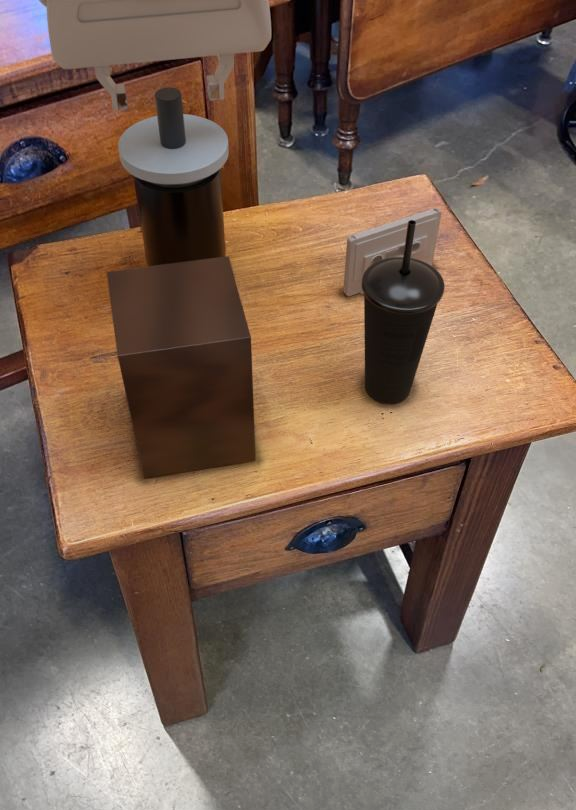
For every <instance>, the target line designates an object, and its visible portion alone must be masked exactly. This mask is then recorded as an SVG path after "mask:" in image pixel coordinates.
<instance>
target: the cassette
mask: <svg viewBox="0 0 576 810" xmlns="http://www.w3.org/2000/svg"><path fill="white" fill-rule="evenodd" d="M441 218H442V211H440V210H439V209H438V208H437V207H434V208H431V209H428V210H425V211H422V212H419V213H416V214H413V215H409V216H407V217H403V218H401V219H397V220H395V221H391V222H388V223H385V224H382V225H379V226H376V227H373V228H370V229H367V230H363V231H360V232H357V233H354V234H351V235H349V236H348V237H347V239H346V247H345V248H346V250H345V260H344V276H343V286H342V287H343V288H342V292H343V293H344V295H346V297H351V296H352V297H353V296H354V295H357V294H360V295H364V293H363V290H362V284H361V283H362V277H363V274H364V272H365V271H366V270H367V268H368V267H369V266H371V265H372V264H374V263H375V262H377V261H380V260H383V259H386V258H392V257H403V255H404V248H405V241H406V234H407V227H408V221H410V220H414V221H415V222H416V226H415V233H414V239H413V246H412V252H411V258H413V259H417V260H420V261H423V262H425V263H427V264H429V265H431V266H432V267H433V264H434V257H435V251H436V247H437V240H438V237H439V236H438V235H439V230H440V224H441Z"/></svg>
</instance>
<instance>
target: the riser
mask: <svg viewBox="0 0 576 810" xmlns="http://www.w3.org/2000/svg"><path fill="white" fill-rule="evenodd" d="M106 280H107V288H108V294H109V302H110V308H111V309H110V310H111V317H112V325H113V332H114V339H115V347H116V354H117V359H118V365H119V369H120V374H121V379H122V383H123V388H124V393H125V396H126V401H127V406H128V410H129V411H128V412H129V416H130V419H131V420H130V421H131V425H132V430H133V434H134V439H135V443H136V448H137V453H138V457H139V462H140V466H141V471H142V475H143V479H149V478H156V477H162V476H169V475H174V474H175V475H176V474H180V473H188V472H194V471H199V470H206V469H213V468H218V467H219V468H220V467H225V466H231V465H238V464H243V463H250V462H256V460H257V457H256V456H257V455H256V432H255V431H256V429H255V428H256V427H255V406H254V405H255V404H254V382H253V381H254V380H253V355H252V353H253V352H252V350H253V349H252V336H251V331H250V329H249V325H248V321H247V318H246V314H245V311H244V307H243V304H242V303H243V302H242V300H241V296H240V293H239V289H238V285H237V281H236V278H235V274H234V271H233V268H232V263H231V260H230V256H228V255H226V257H218V258H211V259H203V260H195V261H187V262H179V263H171V264H164V265H156V266H148V267H147V266H141V267H140V266H139V267H134V268H127V269H117V270H109V271H106Z"/></svg>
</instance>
